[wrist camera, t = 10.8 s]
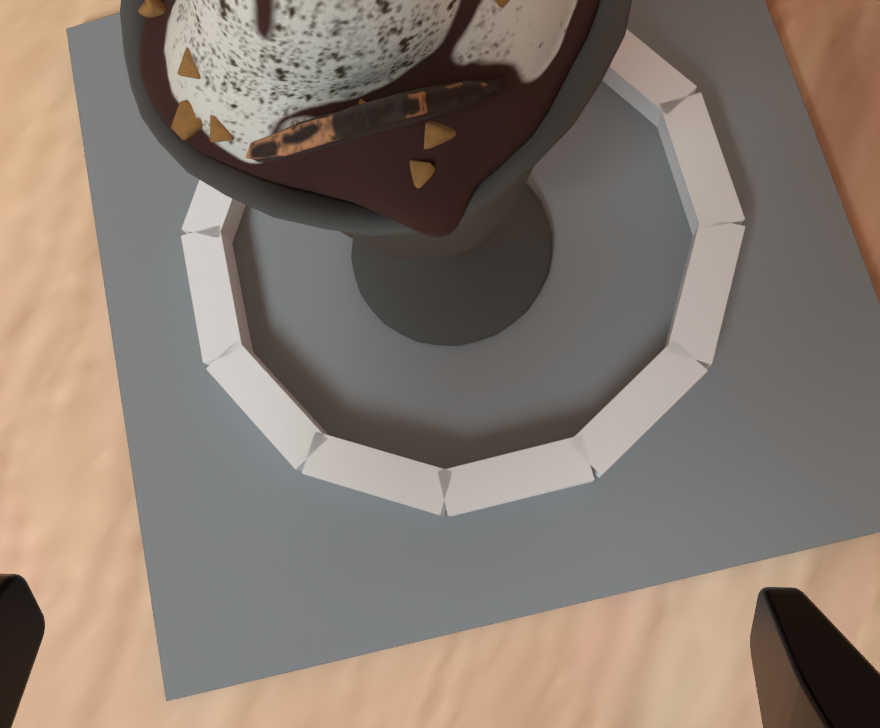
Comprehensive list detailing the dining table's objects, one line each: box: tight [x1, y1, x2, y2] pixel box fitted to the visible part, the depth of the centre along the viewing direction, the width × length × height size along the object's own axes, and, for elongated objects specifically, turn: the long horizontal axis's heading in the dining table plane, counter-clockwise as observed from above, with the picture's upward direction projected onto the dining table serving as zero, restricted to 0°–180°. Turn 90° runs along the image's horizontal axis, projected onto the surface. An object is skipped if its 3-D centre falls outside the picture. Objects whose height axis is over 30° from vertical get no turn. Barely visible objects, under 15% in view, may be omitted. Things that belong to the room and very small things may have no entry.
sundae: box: [120, 0, 632, 346], centre depth 13 cm, size 7×7×15 cm
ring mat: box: [66, 0, 880, 701], centre depth 20 cm, size 18×18×1 cm
